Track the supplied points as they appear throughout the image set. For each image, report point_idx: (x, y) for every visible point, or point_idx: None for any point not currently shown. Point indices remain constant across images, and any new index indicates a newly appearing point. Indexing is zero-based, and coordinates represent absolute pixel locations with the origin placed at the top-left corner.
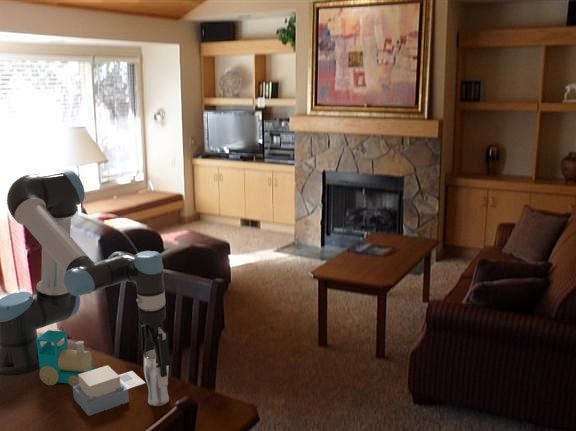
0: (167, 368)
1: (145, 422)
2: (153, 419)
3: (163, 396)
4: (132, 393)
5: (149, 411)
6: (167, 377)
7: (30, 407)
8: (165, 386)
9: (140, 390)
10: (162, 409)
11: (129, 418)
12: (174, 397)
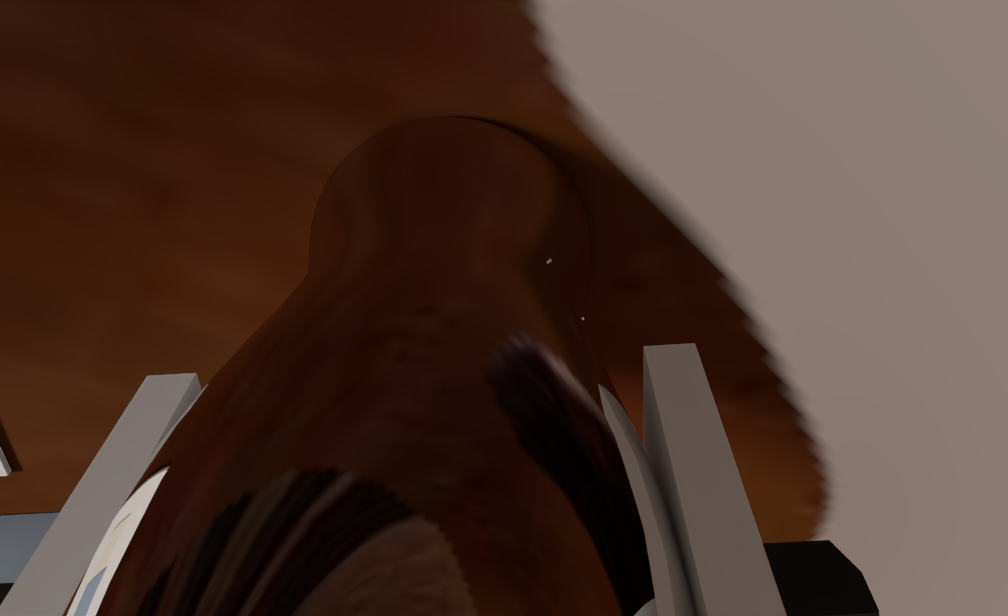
0: (624, 499)
1: (787, 497)
2: (796, 425)
3: (580, 277)
4: (114, 421)
5: None
6: (569, 342)
7: None
8: (574, 307)
9: (75, 332)
10: (673, 281)
11: None
12: (485, 33)
